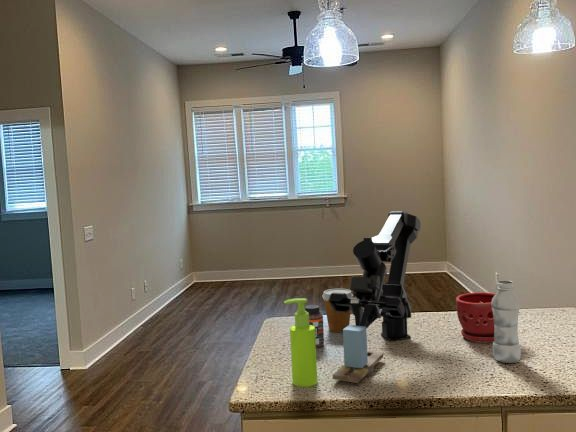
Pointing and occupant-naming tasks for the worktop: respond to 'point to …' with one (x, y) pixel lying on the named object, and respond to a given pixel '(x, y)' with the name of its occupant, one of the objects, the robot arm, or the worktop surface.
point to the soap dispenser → (303, 347)
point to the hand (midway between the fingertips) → (358, 334)
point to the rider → (355, 346)
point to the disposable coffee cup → (336, 319)
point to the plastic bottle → (505, 323)
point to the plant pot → (476, 316)
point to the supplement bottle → (316, 323)
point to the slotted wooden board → (358, 369)
